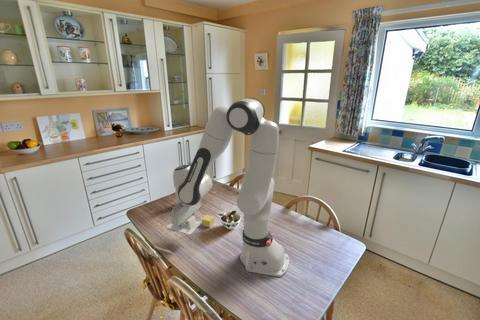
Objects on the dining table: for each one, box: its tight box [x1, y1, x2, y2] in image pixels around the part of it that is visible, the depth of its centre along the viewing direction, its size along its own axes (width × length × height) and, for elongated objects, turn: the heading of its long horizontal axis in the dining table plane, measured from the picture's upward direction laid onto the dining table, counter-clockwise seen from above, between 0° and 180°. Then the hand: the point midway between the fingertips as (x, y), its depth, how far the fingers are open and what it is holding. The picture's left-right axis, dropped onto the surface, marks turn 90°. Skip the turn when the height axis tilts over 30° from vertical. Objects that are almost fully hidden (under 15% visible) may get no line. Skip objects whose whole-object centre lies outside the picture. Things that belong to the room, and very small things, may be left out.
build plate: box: [166, 220, 202, 235], centre depth 134 cm, size 16×12×1 cm
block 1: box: [181, 215, 197, 231], centre depth 118 cm, size 5×5×5 cm
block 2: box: [201, 214, 216, 228], centre depth 134 cm, size 5×5×5 cm
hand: (188, 223), depth 118 cm, fingers closed on block 1, 5 cm apart
